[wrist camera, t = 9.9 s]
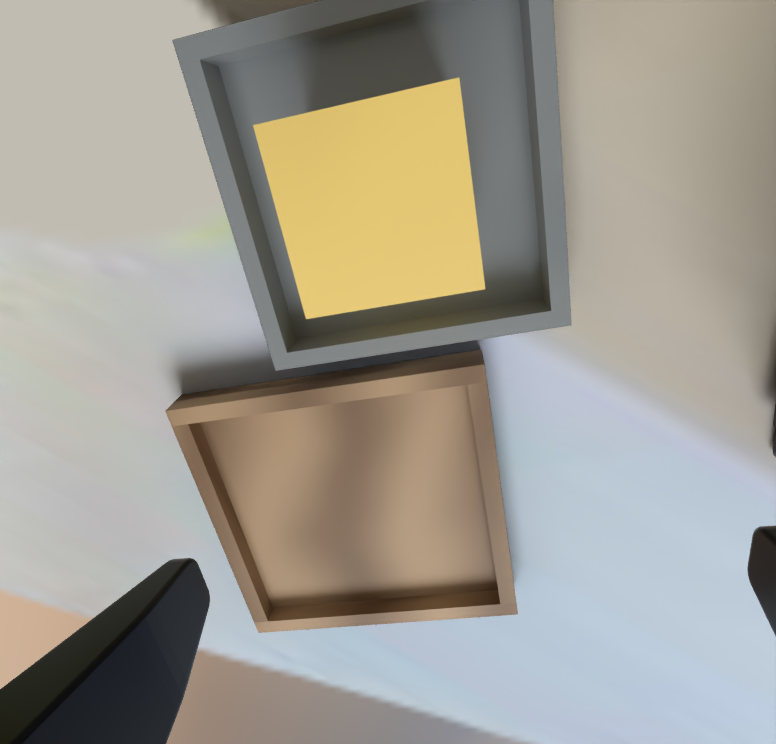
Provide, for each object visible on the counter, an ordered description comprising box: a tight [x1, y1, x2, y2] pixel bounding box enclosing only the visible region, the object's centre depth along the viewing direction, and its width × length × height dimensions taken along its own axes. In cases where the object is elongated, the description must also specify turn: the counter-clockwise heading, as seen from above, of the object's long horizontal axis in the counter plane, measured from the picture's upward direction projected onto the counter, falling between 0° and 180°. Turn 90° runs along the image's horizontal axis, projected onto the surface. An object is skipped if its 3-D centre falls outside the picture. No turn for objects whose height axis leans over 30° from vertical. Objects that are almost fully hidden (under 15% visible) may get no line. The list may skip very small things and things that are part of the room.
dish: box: [173, 0, 571, 371], centre depth 16 cm, size 10×10×2 cm
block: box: [253, 77, 485, 319], centre depth 14 cm, size 4×4×6 cm
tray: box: [166, 350, 518, 633], centre depth 22 cm, size 12×12×1 cm
